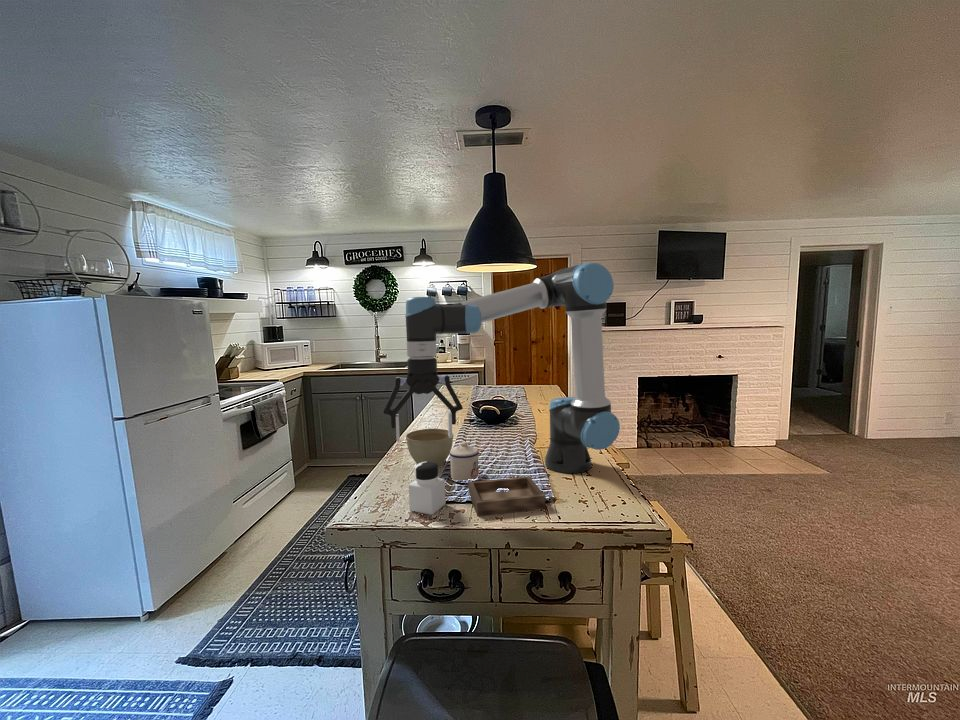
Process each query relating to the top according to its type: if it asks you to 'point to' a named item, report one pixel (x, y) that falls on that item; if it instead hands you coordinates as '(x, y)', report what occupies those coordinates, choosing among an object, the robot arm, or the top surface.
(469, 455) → the teacup with lid
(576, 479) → the top surface
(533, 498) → the holder tray
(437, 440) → the planter bowl
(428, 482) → the medicine bottle
